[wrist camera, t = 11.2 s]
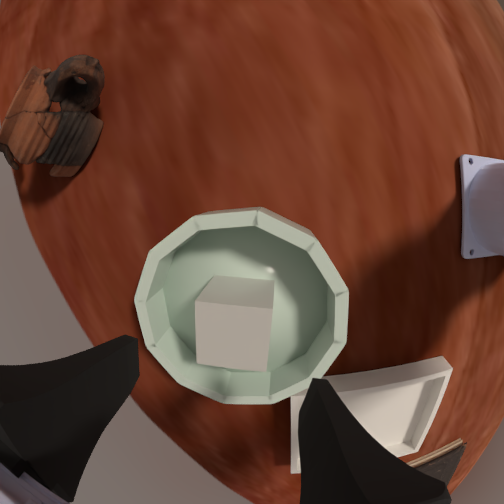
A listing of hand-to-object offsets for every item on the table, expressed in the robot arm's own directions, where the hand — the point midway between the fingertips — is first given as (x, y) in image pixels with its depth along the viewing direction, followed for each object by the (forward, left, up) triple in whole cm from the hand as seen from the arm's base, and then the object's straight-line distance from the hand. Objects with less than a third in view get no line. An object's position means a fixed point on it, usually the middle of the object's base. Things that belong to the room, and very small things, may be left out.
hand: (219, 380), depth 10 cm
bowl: (0, 0, -9) cm, 9 cm away
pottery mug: (+14, -16, -10) cm, 23 cm away
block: (0, 0, -9) cm, 9 cm away
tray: (-10, +13, -9) cm, 19 cm away
